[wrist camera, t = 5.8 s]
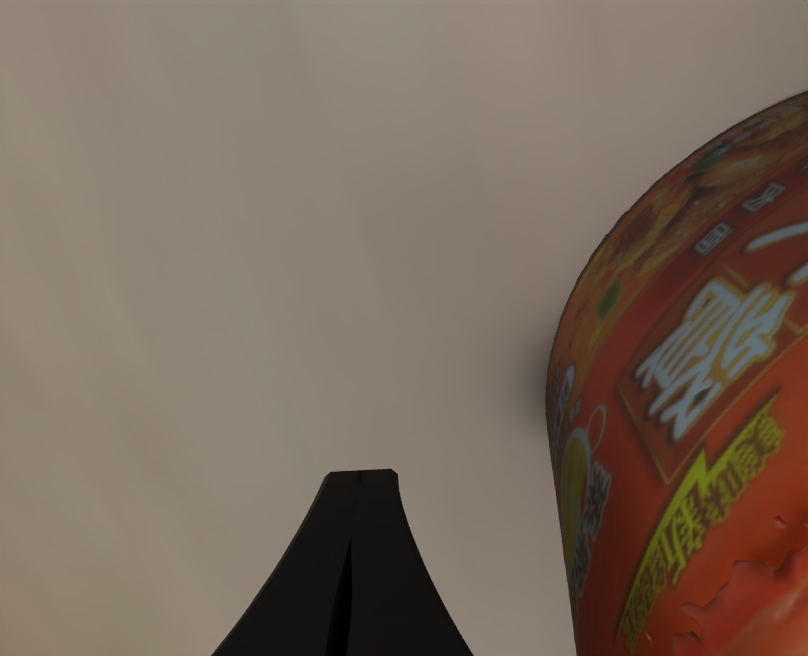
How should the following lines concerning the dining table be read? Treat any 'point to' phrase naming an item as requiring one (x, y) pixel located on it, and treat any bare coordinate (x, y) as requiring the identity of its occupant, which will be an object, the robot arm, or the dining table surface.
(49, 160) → the dining table surface
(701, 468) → the food container
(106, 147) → the dining table surface
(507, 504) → the dining table surface
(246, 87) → the dining table surface
